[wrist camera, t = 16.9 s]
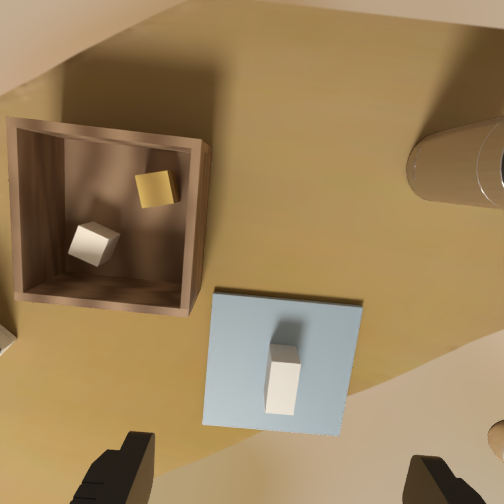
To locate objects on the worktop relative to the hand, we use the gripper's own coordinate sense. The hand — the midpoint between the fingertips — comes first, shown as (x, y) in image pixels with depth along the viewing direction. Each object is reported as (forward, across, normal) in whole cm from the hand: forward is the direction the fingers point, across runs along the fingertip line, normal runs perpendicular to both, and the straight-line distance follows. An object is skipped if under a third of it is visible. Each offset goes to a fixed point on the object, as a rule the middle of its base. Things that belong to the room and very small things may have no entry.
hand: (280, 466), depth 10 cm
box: (+37, +17, -2) cm, 41 cm away
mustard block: (+36, +13, -6) cm, 39 cm away
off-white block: (+36, +22, +2) cm, 42 cm away
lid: (+38, -5, +19) cm, 43 cm away
